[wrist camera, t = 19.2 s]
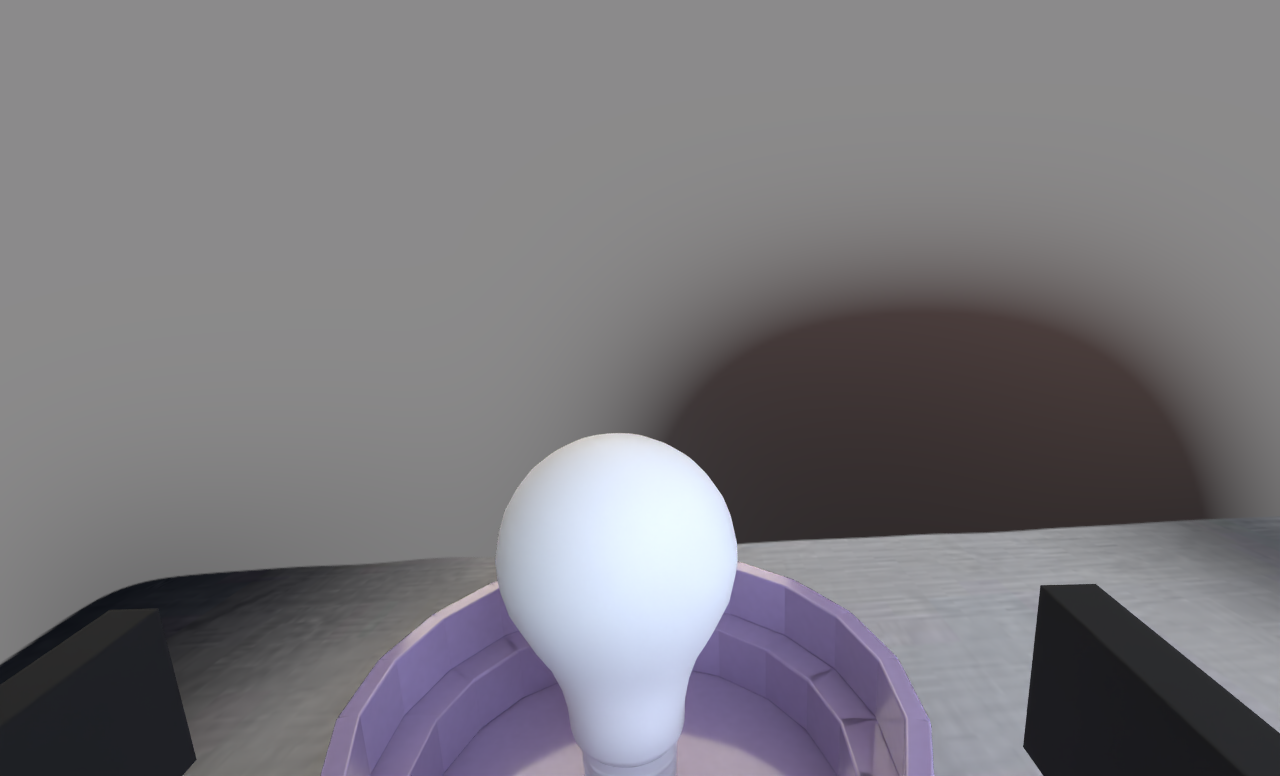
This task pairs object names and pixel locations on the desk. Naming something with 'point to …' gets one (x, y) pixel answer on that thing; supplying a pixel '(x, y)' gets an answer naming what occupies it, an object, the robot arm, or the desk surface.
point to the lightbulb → (618, 589)
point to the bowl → (714, 704)
